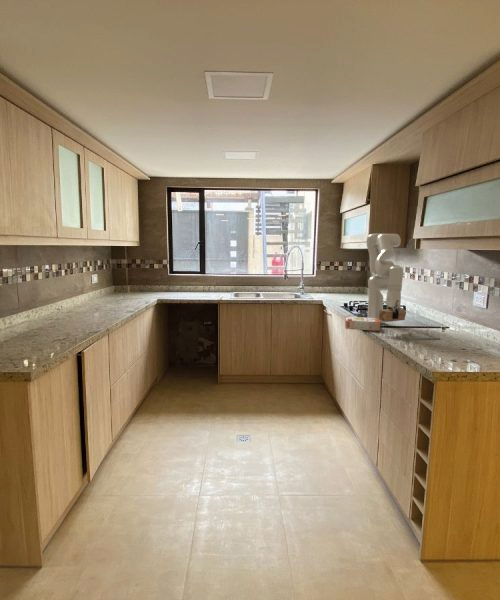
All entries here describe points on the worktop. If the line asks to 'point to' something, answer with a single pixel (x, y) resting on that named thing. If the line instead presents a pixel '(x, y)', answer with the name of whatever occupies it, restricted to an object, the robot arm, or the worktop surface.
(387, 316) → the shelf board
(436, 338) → the peg stand
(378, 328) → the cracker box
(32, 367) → the worktop surface
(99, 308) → the worktop surface
